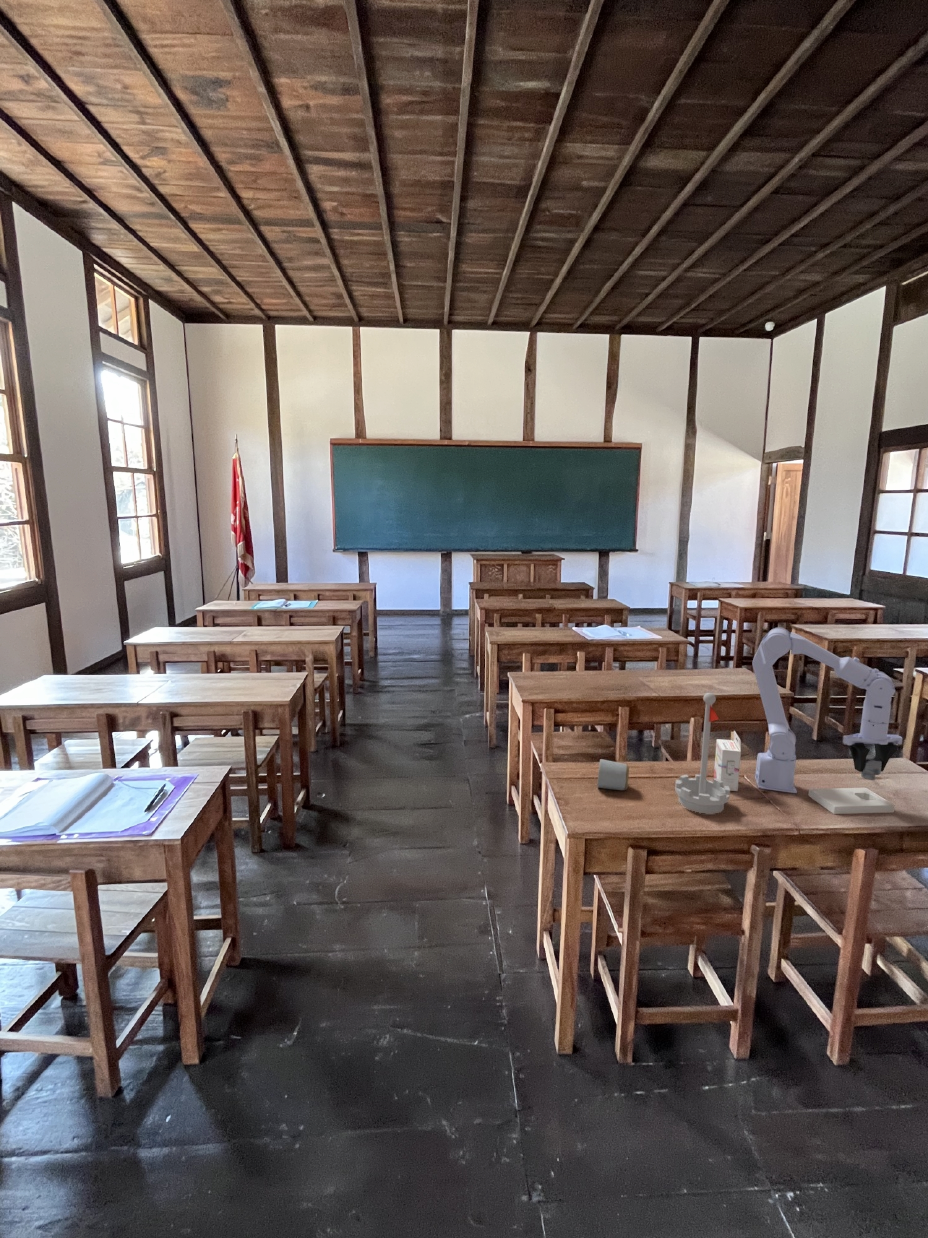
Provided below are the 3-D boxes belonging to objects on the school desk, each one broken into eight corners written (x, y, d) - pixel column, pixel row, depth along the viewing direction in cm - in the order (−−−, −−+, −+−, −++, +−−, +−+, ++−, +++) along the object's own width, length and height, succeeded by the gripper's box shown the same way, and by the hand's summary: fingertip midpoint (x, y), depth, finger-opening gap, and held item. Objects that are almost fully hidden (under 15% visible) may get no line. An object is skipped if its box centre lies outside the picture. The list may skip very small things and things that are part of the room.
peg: (859, 779, 152) (862, 760, 152) (854, 772, 157) (856, 753, 156) (882, 782, 151) (885, 763, 150) (876, 775, 155) (878, 756, 155)
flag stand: (666, 793, 160) (673, 686, 155) (712, 792, 161) (721, 685, 156) (688, 817, 147) (697, 701, 142) (738, 815, 148) (748, 700, 143)
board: (833, 814, 149) (834, 806, 149) (808, 796, 159) (809, 789, 159) (893, 812, 151) (894, 805, 150) (864, 794, 160) (865, 787, 160)
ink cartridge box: (712, 777, 170) (716, 728, 168) (730, 778, 170) (735, 729, 167) (718, 790, 162) (723, 739, 160) (738, 792, 161) (743, 740, 159)
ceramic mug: (628, 795, 158) (629, 768, 157) (596, 792, 160) (598, 765, 159) (627, 779, 169) (628, 754, 167) (597, 776, 171) (599, 751, 169)
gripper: (859, 725, 147) (853, 777, 149) (914, 724, 148) (907, 776, 150) (839, 716, 154) (834, 766, 156) (892, 715, 155) (886, 764, 157)
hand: (868, 770), depth 154 cm, fingers closed on peg, 5 cm apart
